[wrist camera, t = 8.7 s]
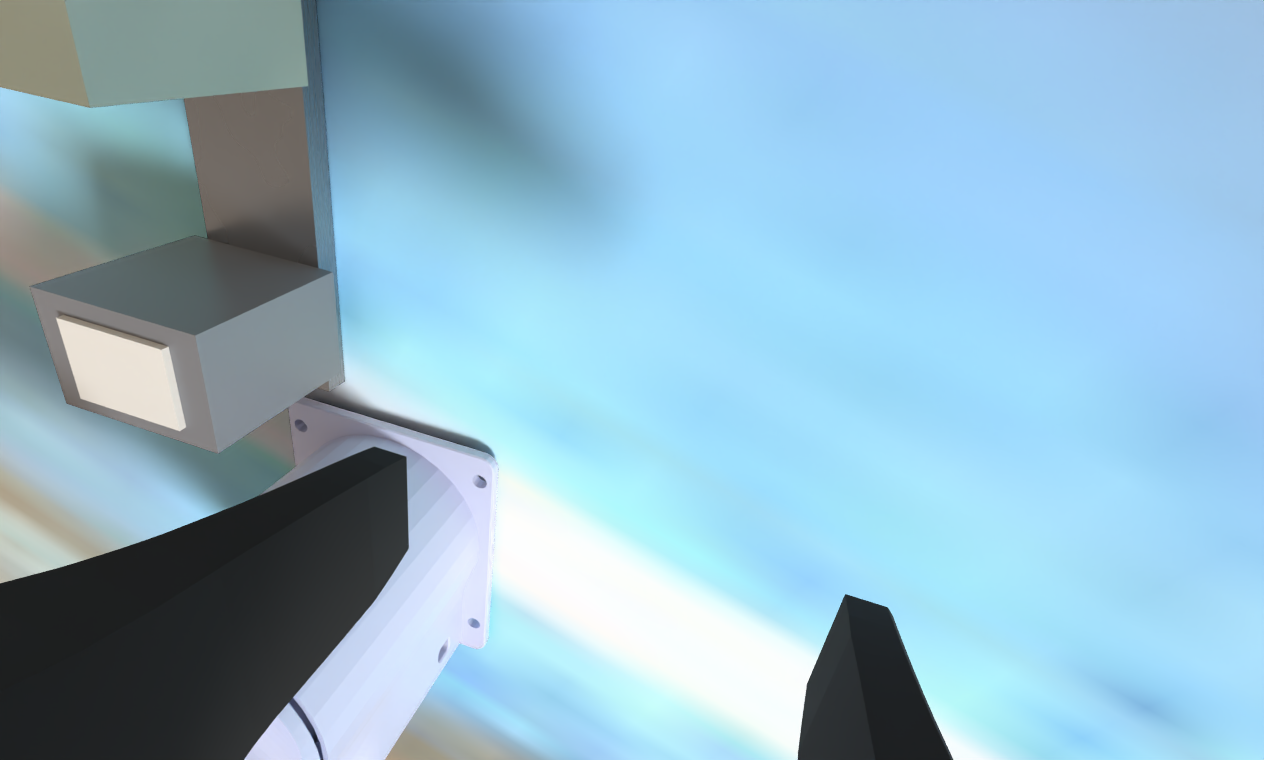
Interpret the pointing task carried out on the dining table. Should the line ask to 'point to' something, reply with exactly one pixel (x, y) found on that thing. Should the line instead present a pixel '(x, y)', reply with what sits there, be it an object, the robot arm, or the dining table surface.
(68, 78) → the block
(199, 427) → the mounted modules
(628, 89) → the dining table surface
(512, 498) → the dining table surface
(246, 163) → the steel rail
